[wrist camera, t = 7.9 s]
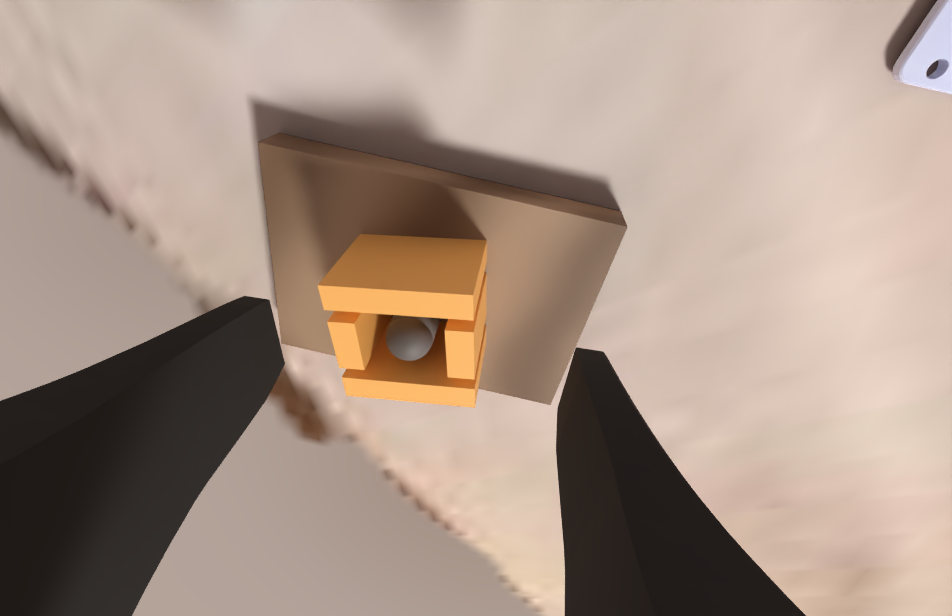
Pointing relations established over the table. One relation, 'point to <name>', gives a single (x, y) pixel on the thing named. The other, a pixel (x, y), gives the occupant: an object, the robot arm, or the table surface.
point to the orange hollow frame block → (409, 294)
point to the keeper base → (439, 216)
